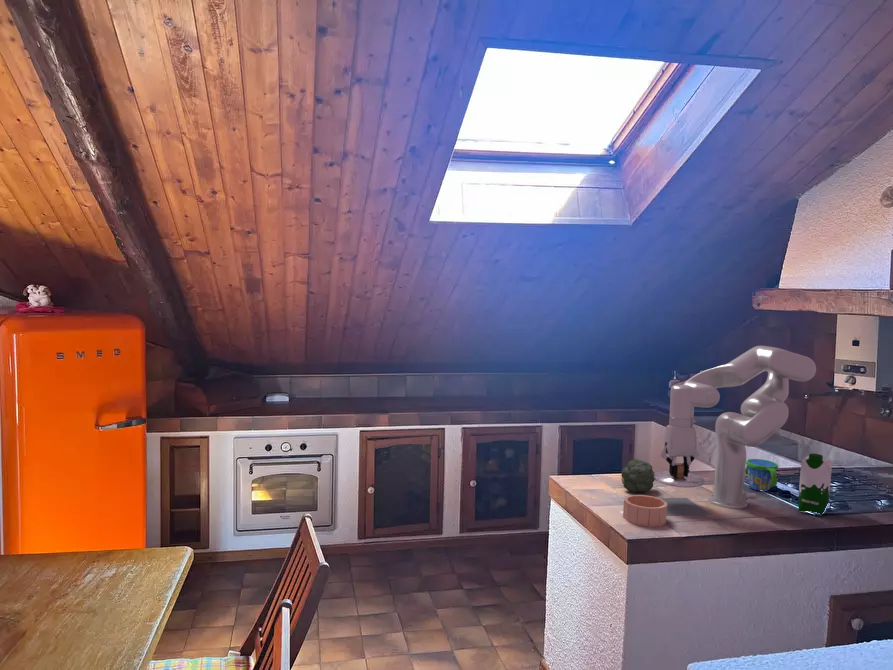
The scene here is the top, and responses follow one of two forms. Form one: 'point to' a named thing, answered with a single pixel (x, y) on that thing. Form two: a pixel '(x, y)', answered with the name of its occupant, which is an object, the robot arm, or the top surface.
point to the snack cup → (761, 474)
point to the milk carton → (814, 483)
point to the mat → (683, 507)
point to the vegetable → (637, 476)
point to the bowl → (645, 510)
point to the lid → (679, 478)
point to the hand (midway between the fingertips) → (678, 475)
